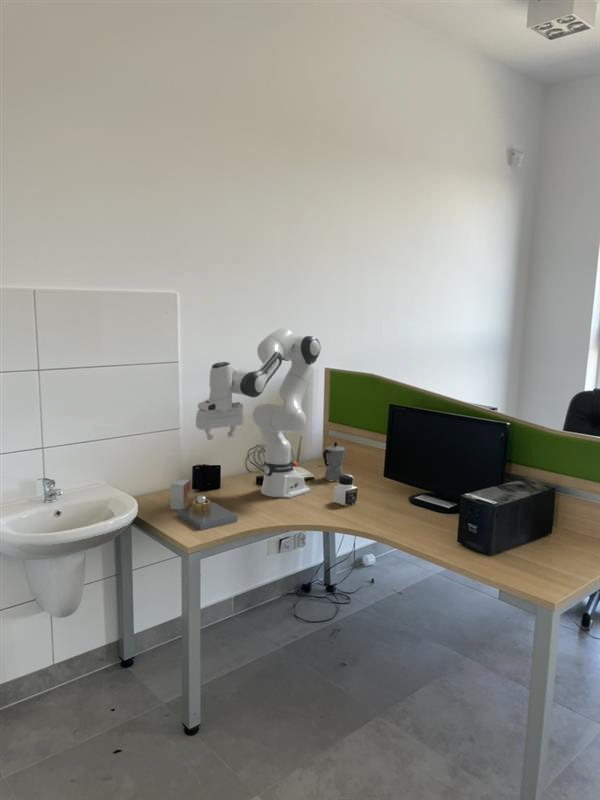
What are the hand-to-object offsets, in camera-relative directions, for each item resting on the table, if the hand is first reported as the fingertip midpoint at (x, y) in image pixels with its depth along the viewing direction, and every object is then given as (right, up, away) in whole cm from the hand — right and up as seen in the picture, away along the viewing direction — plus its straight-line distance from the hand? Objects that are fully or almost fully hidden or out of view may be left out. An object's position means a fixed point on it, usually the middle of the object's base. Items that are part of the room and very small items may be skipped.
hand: (220, 438), depth 241 cm
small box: (-17, -28, +5) cm, 33 cm away
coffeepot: (+47, -23, +51) cm, 73 cm away
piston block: (-4, -31, -7) cm, 32 cm away
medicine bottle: (+51, -29, +17) cm, 61 cm away
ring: (-7, -27, -4) cm, 28 cm away
